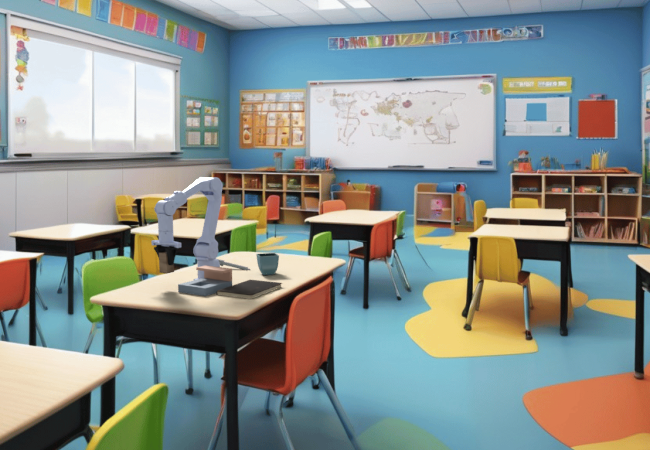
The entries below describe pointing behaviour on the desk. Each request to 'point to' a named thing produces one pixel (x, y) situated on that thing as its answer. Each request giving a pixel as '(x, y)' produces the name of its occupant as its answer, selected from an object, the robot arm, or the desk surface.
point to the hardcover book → (249, 289)
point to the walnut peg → (164, 263)
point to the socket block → (203, 286)
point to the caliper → (232, 265)
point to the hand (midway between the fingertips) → (166, 264)
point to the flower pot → (267, 263)
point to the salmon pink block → (216, 272)
